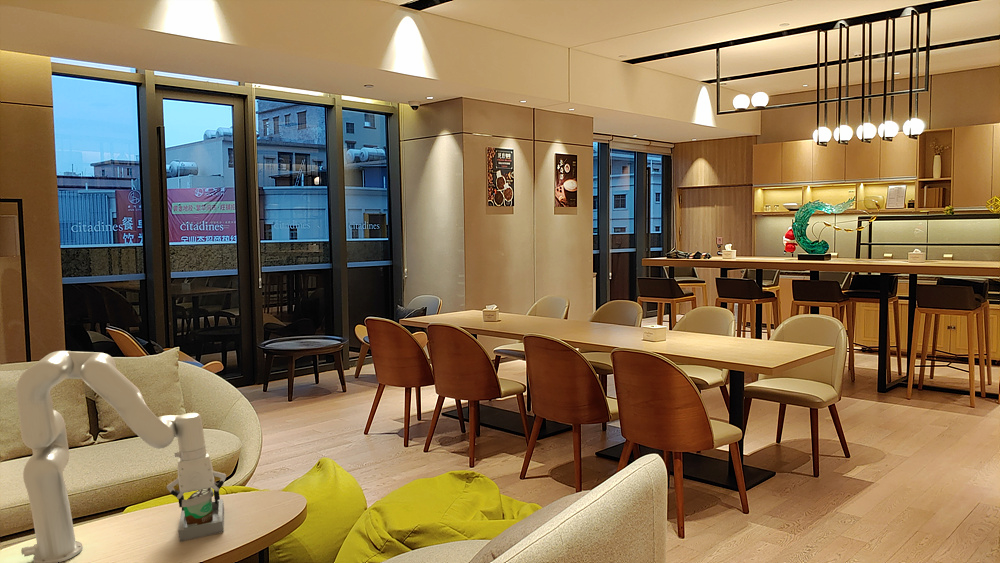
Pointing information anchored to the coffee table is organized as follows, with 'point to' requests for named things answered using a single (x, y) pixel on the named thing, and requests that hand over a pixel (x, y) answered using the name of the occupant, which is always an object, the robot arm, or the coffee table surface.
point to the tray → (206, 528)
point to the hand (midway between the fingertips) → (200, 505)
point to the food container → (198, 507)
